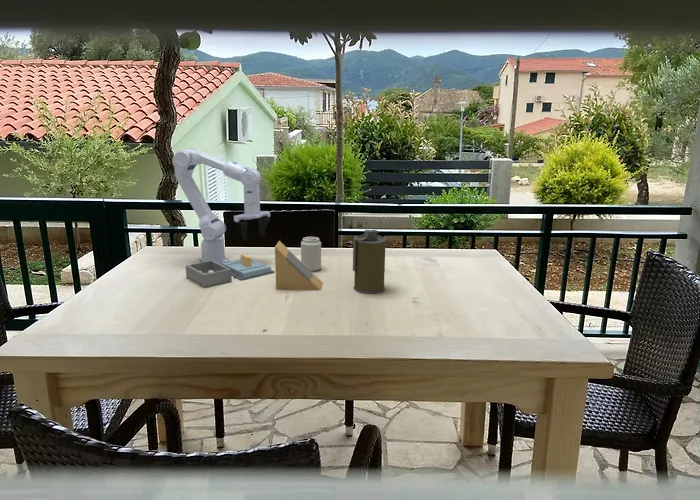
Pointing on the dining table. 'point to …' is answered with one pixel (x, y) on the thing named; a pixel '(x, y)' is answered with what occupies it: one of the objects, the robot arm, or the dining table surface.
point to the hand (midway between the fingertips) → (253, 237)
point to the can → (311, 253)
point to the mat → (251, 276)
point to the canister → (369, 262)
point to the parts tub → (208, 273)
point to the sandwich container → (293, 272)
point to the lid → (247, 267)
